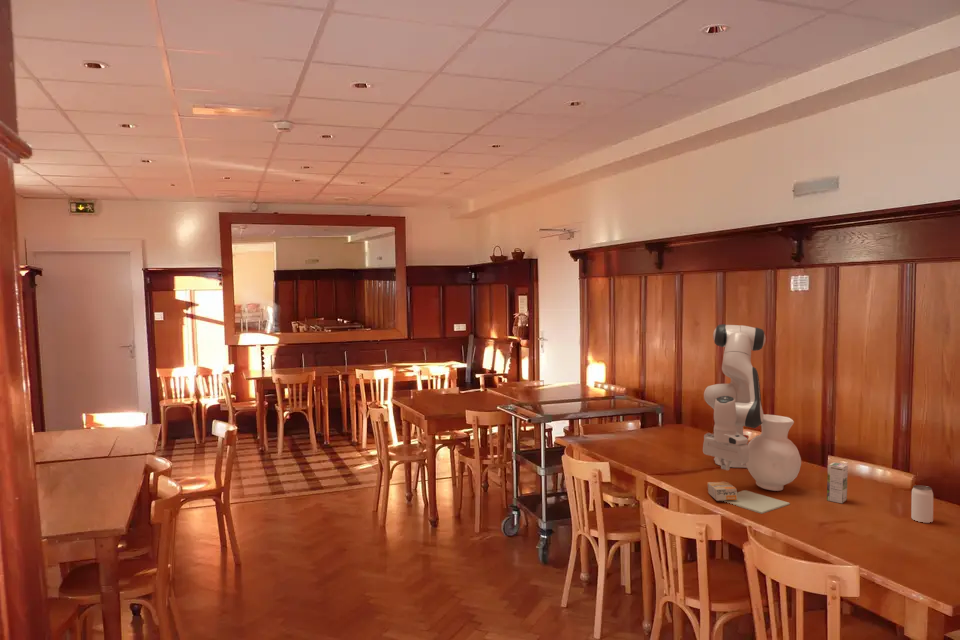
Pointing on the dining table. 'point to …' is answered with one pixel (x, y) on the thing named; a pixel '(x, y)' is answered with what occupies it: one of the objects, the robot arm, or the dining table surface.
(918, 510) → the can
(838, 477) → the syrup box
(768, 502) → the board
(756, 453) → the vase
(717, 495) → the supplement box
